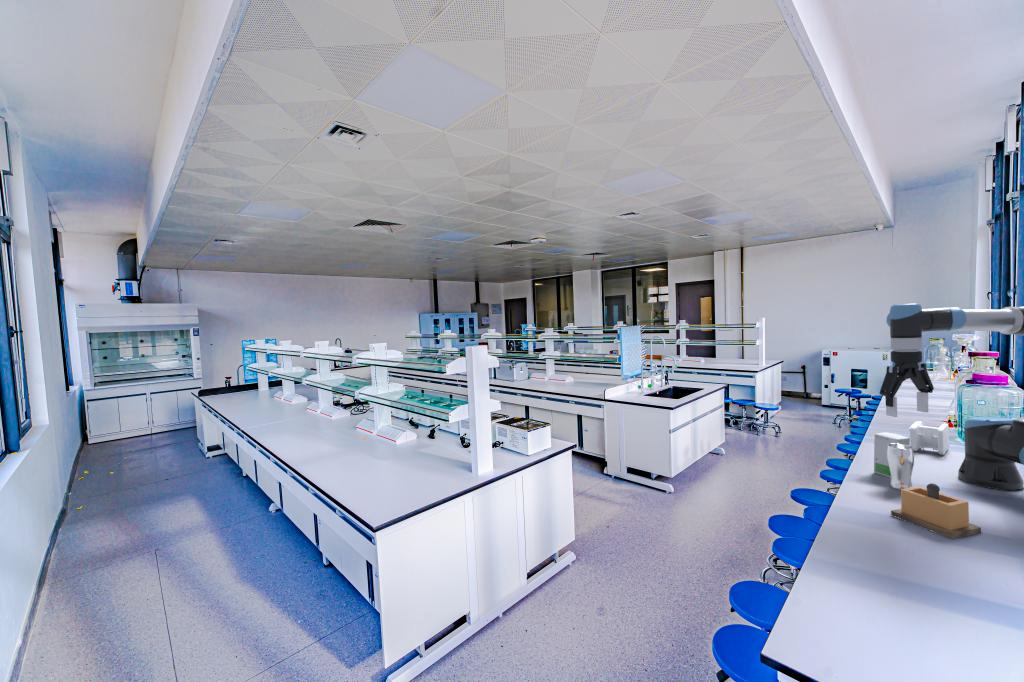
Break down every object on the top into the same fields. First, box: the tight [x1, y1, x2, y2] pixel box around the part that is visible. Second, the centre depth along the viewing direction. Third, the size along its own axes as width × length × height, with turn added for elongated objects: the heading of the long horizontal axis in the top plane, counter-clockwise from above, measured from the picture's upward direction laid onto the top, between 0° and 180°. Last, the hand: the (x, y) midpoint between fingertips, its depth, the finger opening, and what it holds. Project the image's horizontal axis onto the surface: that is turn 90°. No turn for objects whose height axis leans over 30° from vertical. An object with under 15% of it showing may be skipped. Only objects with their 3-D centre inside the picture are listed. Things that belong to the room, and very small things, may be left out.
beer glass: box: [887, 443, 915, 491], centre depth 146 cm, size 7×7×15 cm
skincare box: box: [873, 431, 910, 479], centre depth 157 cm, size 8×7×16 cm
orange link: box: [900, 485, 970, 530], centre depth 121 cm, size 12×7×7 cm, turn 13°
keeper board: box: [890, 483, 982, 540], centre depth 121 cm, size 11×15×12 cm
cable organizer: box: [908, 420, 950, 456], centre depth 180 cm, size 15×11×12 cm
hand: (907, 413), depth 137 cm, fingers open, 13 cm apart
